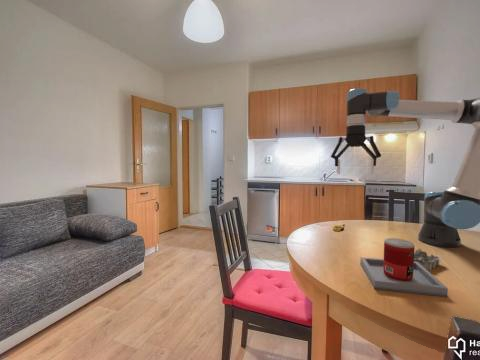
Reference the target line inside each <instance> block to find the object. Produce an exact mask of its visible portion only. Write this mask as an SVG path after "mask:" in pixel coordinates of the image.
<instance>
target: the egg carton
mask: <svg viewBox="0 0 480 360" xmlns="http://www.w3.org/2000/svg"><path fill="white" fill-rule="evenodd" d="M441 258H442V257H441V256H437V255H436V256H434V255H433V254H430V255H428V253H427V251H423V250H421V248H419V249H415V250H414V262H418V263H419V264H421V265H422V266H423V267H424V268H425V269H426V270H428V271H431V270H432V268H436V266H439V265H440V259H441Z"/></svg>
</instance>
